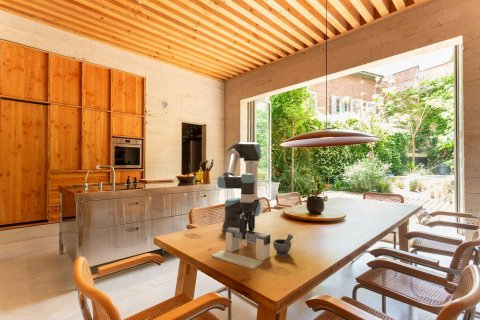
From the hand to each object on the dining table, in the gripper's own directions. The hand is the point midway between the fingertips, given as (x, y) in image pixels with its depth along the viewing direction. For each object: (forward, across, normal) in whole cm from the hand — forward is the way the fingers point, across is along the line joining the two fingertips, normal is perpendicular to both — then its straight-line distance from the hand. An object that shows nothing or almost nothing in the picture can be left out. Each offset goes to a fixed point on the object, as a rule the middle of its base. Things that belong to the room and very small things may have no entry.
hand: (247, 243), depth 134 cm
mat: (+5, -10, 0) cm, 12 cm away
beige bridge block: (+5, 0, +10) cm, 11 cm away
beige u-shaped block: (+5, 0, -10) cm, 11 cm away
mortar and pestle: (+6, +10, -17) cm, 21 cm away
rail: (-3, 0, 0) cm, 3 cm away
